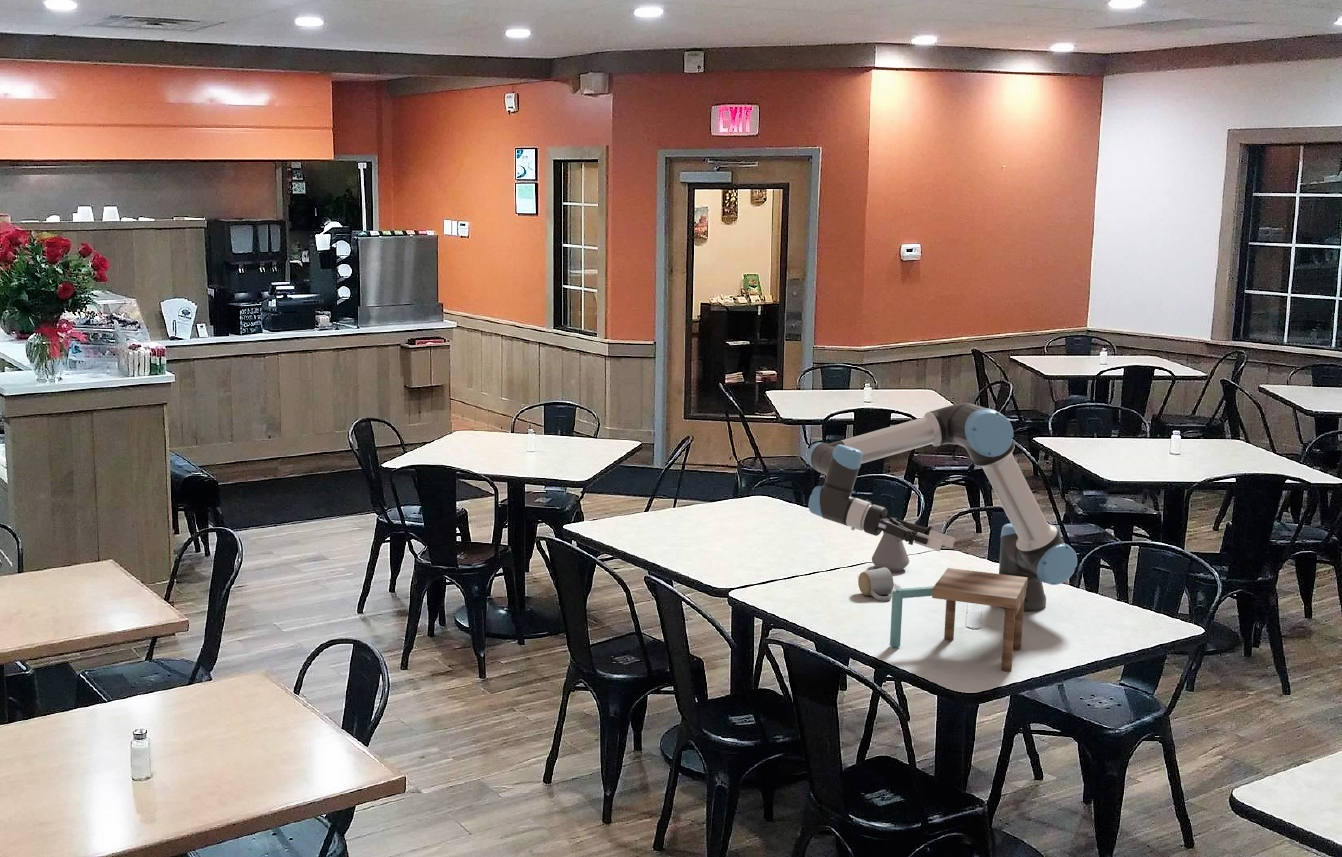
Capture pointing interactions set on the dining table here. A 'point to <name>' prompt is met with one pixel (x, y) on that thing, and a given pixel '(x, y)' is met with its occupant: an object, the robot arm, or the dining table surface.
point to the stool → (985, 602)
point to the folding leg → (897, 609)
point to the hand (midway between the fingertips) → (947, 544)
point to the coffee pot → (890, 553)
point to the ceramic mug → (876, 583)
